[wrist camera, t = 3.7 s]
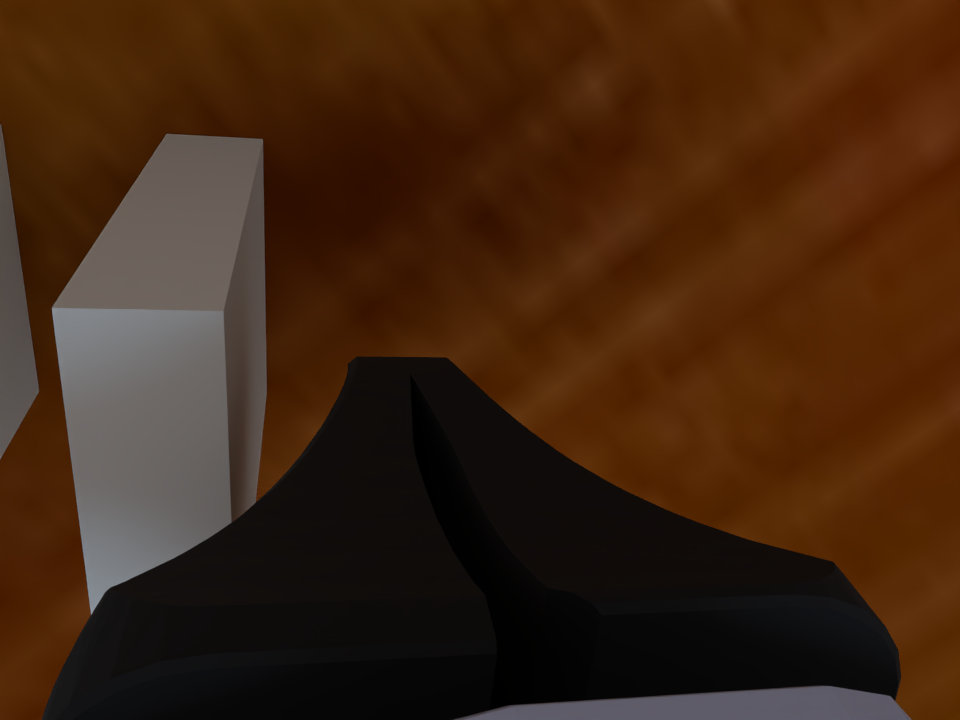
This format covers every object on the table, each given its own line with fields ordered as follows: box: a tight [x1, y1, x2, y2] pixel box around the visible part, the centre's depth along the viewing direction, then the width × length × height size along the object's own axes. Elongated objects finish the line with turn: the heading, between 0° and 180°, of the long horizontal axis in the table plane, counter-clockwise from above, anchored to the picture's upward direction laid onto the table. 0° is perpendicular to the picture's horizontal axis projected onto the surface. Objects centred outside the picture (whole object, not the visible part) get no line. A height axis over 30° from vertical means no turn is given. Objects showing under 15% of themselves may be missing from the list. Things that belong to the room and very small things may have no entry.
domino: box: [52, 134, 267, 615], centre depth 13 cm, size 2×5×8 cm, turn 175°
